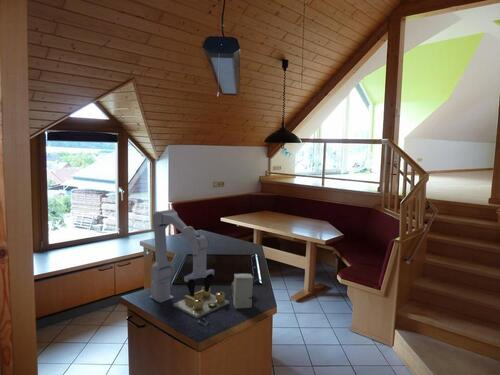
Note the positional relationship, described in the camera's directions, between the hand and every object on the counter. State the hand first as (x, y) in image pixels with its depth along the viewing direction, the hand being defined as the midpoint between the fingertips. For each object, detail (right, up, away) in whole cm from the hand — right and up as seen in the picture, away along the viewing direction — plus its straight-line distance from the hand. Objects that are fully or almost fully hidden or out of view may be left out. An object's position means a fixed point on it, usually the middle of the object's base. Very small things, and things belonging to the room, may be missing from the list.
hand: (199, 293), depth 157 cm
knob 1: (-2, -7, +16) cm, 17 cm away
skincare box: (+19, -9, +11) cm, 24 cm away
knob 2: (-4, -8, +7) cm, 11 cm away
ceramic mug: (+17, -8, +22) cm, 29 cm away
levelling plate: (-1, -9, +11) cm, 14 cm away
